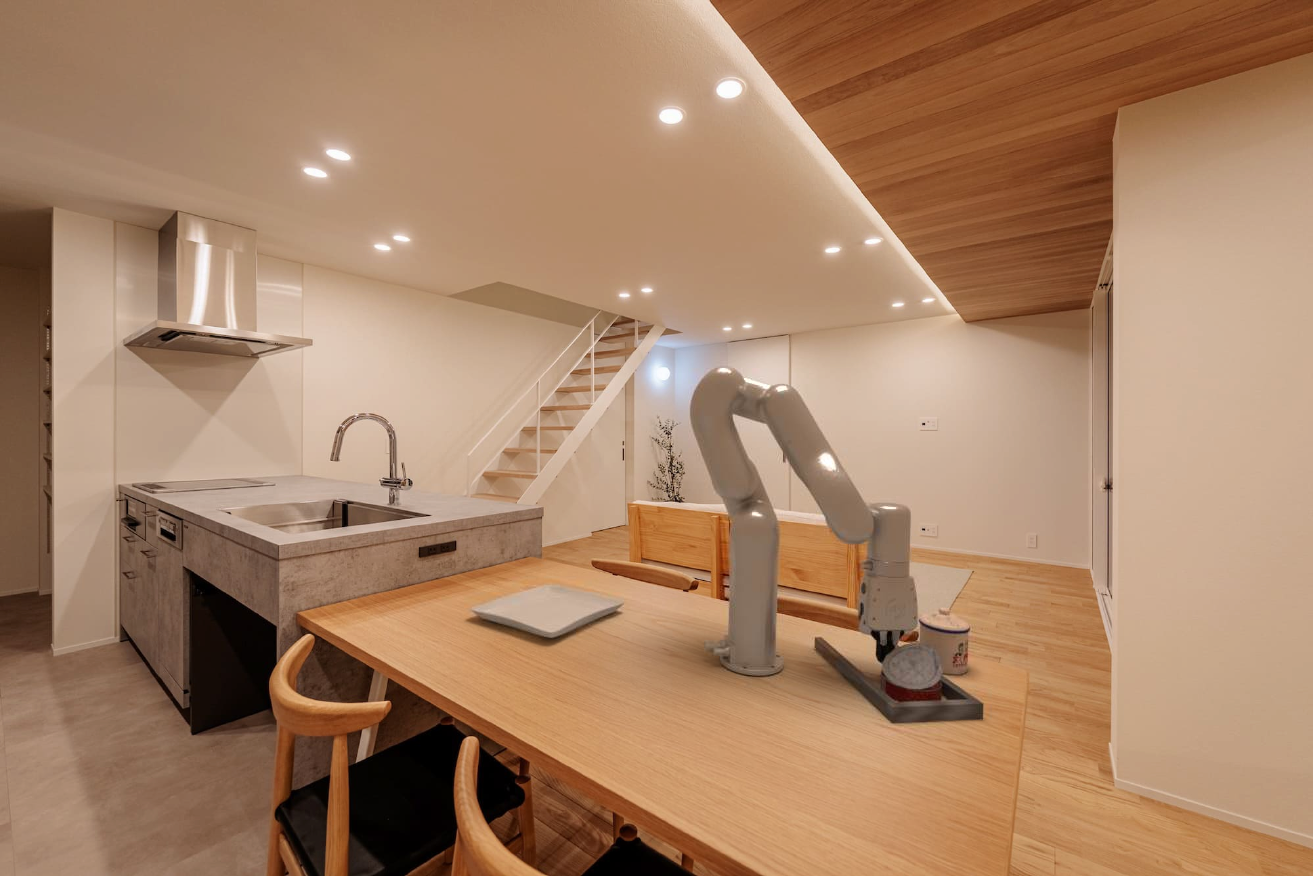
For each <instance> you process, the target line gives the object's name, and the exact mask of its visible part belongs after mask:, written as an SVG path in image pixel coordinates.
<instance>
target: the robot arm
mask: <svg viewBox="0 0 1313 876" xmlns="http://www.w3.org/2000/svg"><path fill="white" fill-rule="evenodd" d="M734 415H735V416H738V417H742V418H743V419H748V420H751V421H753V422H757V423H760V424H765V425H766V426H767V427H768V429H769V431H770V433H771V434H772V436H773V438H774V440H775V441H776V443H777V445H778V447H779V448H780V449H781V452H782V453H783V455H784V456H785V458H786V460H787V462H788V464H789V465H790V467H791V469H792V470H793V472H794V473H795V475H796V476H797V478H798V479H800V481H801V482H802V483H803V484H804V485H805V487H806V489H807V490H808V491H809V493H810V495H811V497H812V498H813V500H814V501H815V503H816V504H817V506H818V507H819V509H820V511H821V513H822V514H823V517H824V520H825V524H826V526H827V528H828V529H829V530H830V531H831V532H832V534H833V535H834V536H835V538H836V539H837V540H839V542H842V543H844V544H846V545H851V546H859V545H862V544H864V543H866V542H867V543H866V557H865V561H861V563H860V568H861V569H862V570H865V571H866V572H863V575H862V578H861V582H860V587H859V594H858V601H857V603H858V604H857V621H859V624H858V628H857V630H858V632H860V633H862V634H863V635H868V636H871V637H872V638H873V640H874V641H875V658H876V659H877V660H876V661H878V663H880V664H881V665H882V662H883V661H884V659H885V657H886V655H887V654H889V653H890V652H891V651H892V650H894V649H895V645H899V642H900V639H902V637H903V636H904V635H908V634H911V633H913V632H914V630H915V629H916V628H917V627H918V623H919V616H918V615H919V611H918V609H919V607H918V606H919V605H918V596H917V589H916V585H915V579H914V576H912V575H910V563H911V562H910V561H911V560H910V558H911V553H910V552H911V526H912V524H911V522H912V520H911V519H912V516H911V514H912V513H911V510H910V508H909V507H908V506H907V505H905V504H901V503H895V502H875V503H873V502H865V500H864V499H863V497H862V496H861V494H860V493H859V490H858V489H857V487H856V486H855V484H854V482H853V481H852V479H851V477H850V476H849V474H848V472H847V471H846V469H844V467H843V464H841V461H840V460H839V458H838V456H837V454H836V453H835V451H834V450H833V448H832V446H831V445H830V443H829V441H828V440H827V438H826V437H825V435H824V434H823V432H822V430H821V429H820V427H819V425H818V423H817V421H816V420H815V418H814V416H813V415H812V413H811V411H810V409H809V408H808V406H807V405H806V403H805V401H804V399H803V398H802V396H801V395H800V393H799V392H798V390H796V389H795V388H794V387H793V386H792V385H789V384H786V383H778V384H774V385H772V384H768V383H764V382H761V381H758V380H754V379H751V378H747V377H744V376H743V375H742V374H741V372H739V371H738V370H737V369H735V368H734V367H731V366H725V365H724V366H718V367H715V368H713V369H711V370H710V371H708V372H707V373H706V374H705V375H704V376H703V377H702V378H701V379H700V381H699V382H698V384H697V385H696V386H695V389H694V391H693V393H692V397H691V400H690V404H689V417H690V418H689V419H690V425H691V429H692V431H693V435H694V437H695V440H696V442H697V446H698V448H699V450H700V454H701V457H702V459H703V461H704V464H705V467H706V469H707V471H708V474H709V478H710V481H711V484H712V487H713V489H714V491H715V493H716V494H717V495H718V496H719V497H720V498H721V499H722V501H723V504H724V506H725V509H726V512H727V513H728V517H729V519H730V521H731V524H730V529H729V584H728V585H729V588H728V589H729V590H728V593H729V594H728V621H727V622H728V626H727V627H728V629H727V634H724V635H723V639H719V641H704V644H703V645H704V647H703V648H704V652H706V653H707V652H708V653H710V652H711V653H713V656H719V661H720V663H721V664H722V665H723V667H725V668H726V669H727V670H730V671H732V672H735V673H738V674H741V675H747V676H758V677H759V676H770V675H774V674H777V673H779V672H781V670H783V668H784V658H783V656H782V655H780V653H778V652H776V651H777V650H776V649H777V622H778V621H777V619H778V618H777V617H778V614H777V613H778V612H777V611H778V580H779V579H778V578H779V575H778V574H779V556H780V555H779V553H780V543H781V541H780V540H781V536H780V535H781V532H780V524H779V521H778V518H777V514H776V511H775V510H774V506H773V505H772V502H771V500H770V498H769V495H768V493H767V490H766V488H765V486H764V483H763V481H762V479H761V476H760V473H759V471H758V468H757V467H756V465H755V463H754V462H753V461H752V460H751V459H750V458H749V456H748V453H747V452H746V449H745V447H744V444H743V442H742V439H741V436H740V434H739V431H738V429H737V425H736V423H735V421H734Z"/></svg>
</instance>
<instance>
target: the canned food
mask: <svg viewBox="0 0 1313 876" xmlns="http://www.w3.org/2000/svg"><path fill="white" fill-rule="evenodd" d="M899 646H900V647H898V648H895V649H894V650H892V651H891V652H890V653H889V654H887V655H886V657H885V659H884V661H883V662H882V664H881V665H882V667H881V668H882V669H881V671H880V689H881V690H883V691H884V692H885V693H886V694H887V695H888V696H889V697H891V698H892V699H893V700H894V701H895V702H913V701H939V700H942V695H941V686H942V684H941V681H940V679H941V676H943V674H944V673H943V664H942V659H941V657H940V656H939V654H938V652H937V650H935V649H933V648H932V647H931V646H930V645H927V644H923V643H920V642H913V643H905V644H903V645H899Z"/></svg>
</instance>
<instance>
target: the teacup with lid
mask: <svg viewBox="0 0 1313 876" xmlns="http://www.w3.org/2000/svg"><path fill="white" fill-rule="evenodd" d="M918 623H919V643H923V644H927V645H930V646H931V647H932V648H933V649H935V650H937V652H938V654H939V656H940V657H941V659H942V664H943V673H942V674H944V675H954V676H957V675H962V674H966V673H967V672H968V670H969V668H968V666H969V665H968V662H969V632H970V631H971V628H970V625H969V623H967V622H966V621H965V620H964V619H961V618H959V617H957V616H956V615H955V614H952V613H951V610H950V609H949V608H948V607H938V611H934V612H931V613H926V614H925V613H924V614H922V615H921V616H920V617H919V618H918Z"/></svg>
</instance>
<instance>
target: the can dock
mask: <svg viewBox="0 0 1313 876" xmlns="http://www.w3.org/2000/svg"><path fill="white" fill-rule="evenodd" d="M900 646H901V645H899V644H897V645H895V648H898V647H900ZM814 648H816V650H818V652H820V654H822V655H821V657H823V656H824V657H823V659H825V658H826V659H825V661H827V660H828V661H829V662H830V663H829V662H828V661H827V662H828V663H829V664H830V665H831V664H832V665H833V666H834V667H835V668H836V669H837V670H838V671H839V672H840V673H841V674H840V673H839V672H838V671H837V670H836V669H835V668H834V667H833V666H832V665H831V666H832V667H833V668H834V669H835V670H836V671H837V672H838V673H839V674H840V675H841V676H842V677H843V678H844V679H846V680H847V681H848V682H849V683H850V684H851V685H852V686H853V687H854V688H855V689H856V690H857V691H858V692H859V693H860V692H861V693H860V694H862V695H863V697H865V699H867V701H869V703H871V705H873V706H874V707H875V708H876V709H877V710H878V711H879V712H880V713H881V714H882V715H883V716H884V717H885V718H887V720H888V721H889V722H890V723H892V724H895V723H912V722H914V723H916V722H917V723H918V722H939V721H940V722H941V721H960V720H963V721H964V720H982V719H984V703H983V702H982V701H981V700H979V699H978V698H976V697H975V696H973V695H972V694H970V693H969V692H967V691H965V690H964V689H963V688H961V687H960V686H959V685H957V684H956V683H955V682H953V681H951V680H950V679H948V678H947V677H945V676H944V675H942V676H941V679H940V681H941V684H942V686H941V696H943V697H944V698H946V699H944V700H942V699H941V700H939V701H913V702H898V701H896V700H893V699H892V698H891V697H889V696H888V695H887V694H886V693H885V692H884V691H883V690H881V687H879V685H877V684H876V683H874V682H873V680H871V679H870V678H869V677H868V676H867V675H865V674H864V673H863V672H862V671H861V670H860V669H858V668H857V667H856V666H855V665H854V664H853V663H851V661H849V659H848V658H846V657H845V656H844V655H842V654H841V653H840V652H839V651H838V650H837V649H836V648H835V647H834V646H832V645H831V644H830V643H829V642H828V641H827V640H825V639H824V638H823V637H822V636H819V637H817V636H814ZM816 650H815V651H816ZM818 652H817V653H818ZM820 654H819V655H820Z"/></svg>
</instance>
